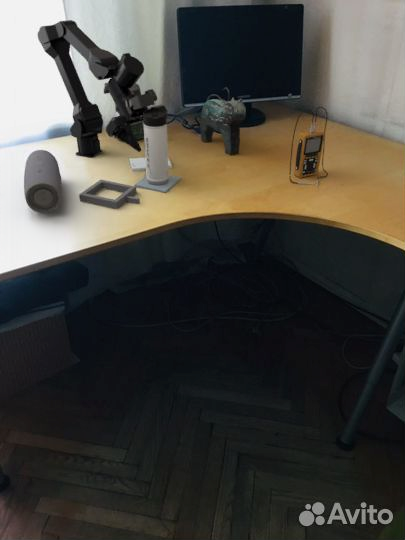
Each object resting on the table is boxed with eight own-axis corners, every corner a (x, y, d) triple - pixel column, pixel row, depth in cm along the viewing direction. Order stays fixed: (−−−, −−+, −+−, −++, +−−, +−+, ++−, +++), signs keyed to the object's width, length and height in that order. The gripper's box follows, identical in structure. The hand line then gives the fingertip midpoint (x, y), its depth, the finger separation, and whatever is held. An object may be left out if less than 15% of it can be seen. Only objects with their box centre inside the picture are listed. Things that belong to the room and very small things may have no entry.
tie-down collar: (80, 201, 123) (79, 194, 121) (101, 186, 131) (100, 179, 129) (129, 212, 118) (128, 205, 117) (148, 195, 126) (147, 188, 125)
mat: (134, 186, 131) (134, 184, 130) (150, 173, 138) (150, 171, 138) (165, 192, 127) (165, 191, 127) (180, 179, 135) (180, 177, 135)
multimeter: (303, 190, 130) (315, 120, 119) (283, 177, 137) (291, 109, 126) (343, 181, 136) (357, 113, 124) (321, 169, 143) (333, 103, 131)
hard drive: (131, 168, 139) (172, 165, 141) (128, 158, 145) (167, 155, 148) (132, 173, 140) (172, 170, 142) (129, 163, 146) (167, 160, 149)
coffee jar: (137, 133, 168) (134, 79, 157) (147, 139, 162) (144, 84, 151) (113, 137, 164) (107, 82, 153) (121, 144, 158) (116, 88, 147)
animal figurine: (244, 154, 152) (249, 92, 140) (229, 158, 149) (232, 95, 137) (209, 137, 165) (211, 78, 154) (195, 140, 162) (195, 81, 150)
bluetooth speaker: (66, 215, 116) (60, 179, 110) (28, 220, 114) (19, 183, 108) (62, 179, 134) (56, 146, 128) (29, 182, 132) (21, 149, 126)
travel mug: (167, 175, 136) (165, 106, 124) (169, 184, 130) (167, 113, 119) (146, 176, 135) (142, 107, 123) (147, 185, 130) (143, 114, 118)
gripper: (108, 86, 115) (139, 140, 116) (162, 74, 126) (190, 123, 127) (92, 111, 124) (122, 161, 124) (144, 98, 135) (171, 143, 136)
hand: (152, 146), depth 128 cm, fingers open, 9 cm apart
